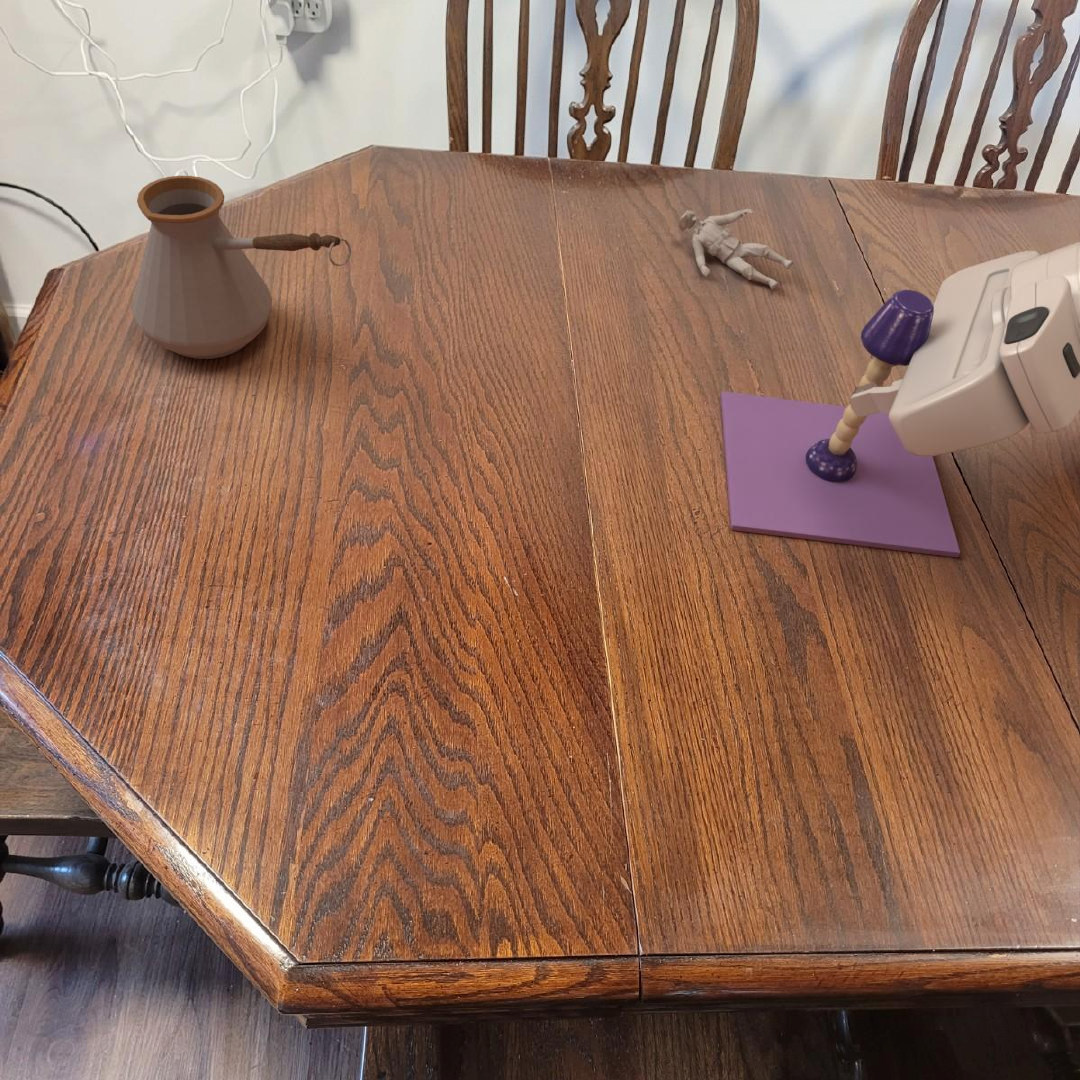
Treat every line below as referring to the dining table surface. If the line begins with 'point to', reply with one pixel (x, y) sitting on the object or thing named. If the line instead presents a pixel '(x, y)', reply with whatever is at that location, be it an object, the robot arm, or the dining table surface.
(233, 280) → the coffee pot
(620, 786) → the dining table surface
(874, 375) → the toy lamp
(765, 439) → the mat
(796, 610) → the dining table surface
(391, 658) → the dining table surface
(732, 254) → the soldier figure
